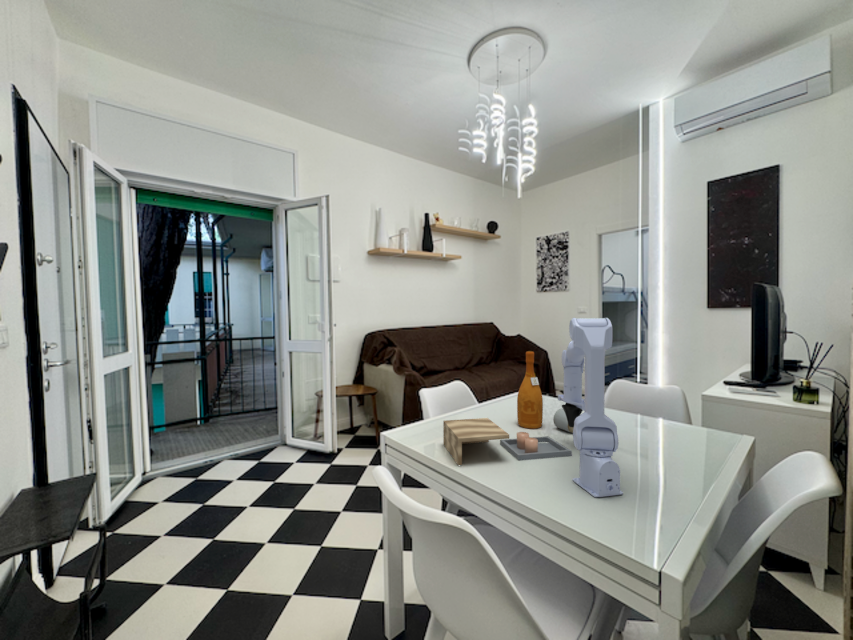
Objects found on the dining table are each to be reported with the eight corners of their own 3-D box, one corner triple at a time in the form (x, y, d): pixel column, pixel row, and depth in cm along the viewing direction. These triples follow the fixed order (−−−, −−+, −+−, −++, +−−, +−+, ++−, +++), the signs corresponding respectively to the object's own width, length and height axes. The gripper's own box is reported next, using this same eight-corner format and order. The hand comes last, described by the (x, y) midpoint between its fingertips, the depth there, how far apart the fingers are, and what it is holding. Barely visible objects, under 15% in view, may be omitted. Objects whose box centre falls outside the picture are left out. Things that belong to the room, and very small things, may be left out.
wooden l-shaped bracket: (509, 461, 108) (509, 434, 108) (458, 466, 105) (458, 438, 105) (487, 441, 125) (487, 417, 125) (443, 444, 122) (443, 420, 122)
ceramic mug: (568, 435, 132) (569, 414, 131) (552, 428, 139) (553, 409, 139) (589, 432, 136) (590, 411, 136) (572, 425, 143) (573, 406, 143)
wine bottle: (516, 428, 140) (516, 352, 139) (517, 421, 149) (517, 349, 149) (542, 430, 137) (543, 352, 136) (542, 423, 146) (542, 350, 146)
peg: (531, 448, 118) (531, 435, 118) (520, 450, 117) (520, 436, 117) (525, 444, 122) (525, 431, 122) (514, 445, 121) (514, 432, 121)
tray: (571, 458, 112) (571, 450, 112) (518, 463, 108) (518, 455, 108) (548, 442, 126) (548, 436, 126) (500, 446, 122) (500, 439, 122)
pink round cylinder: (540, 455, 112) (540, 441, 112) (528, 456, 112) (528, 442, 112) (533, 450, 116) (534, 437, 116) (522, 451, 115) (522, 437, 115)
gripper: (597, 390, 113) (597, 432, 114) (570, 381, 128) (570, 419, 128) (577, 391, 112) (577, 434, 112) (552, 382, 126) (552, 420, 126)
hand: (572, 426), depth 120 cm, fingers closed
